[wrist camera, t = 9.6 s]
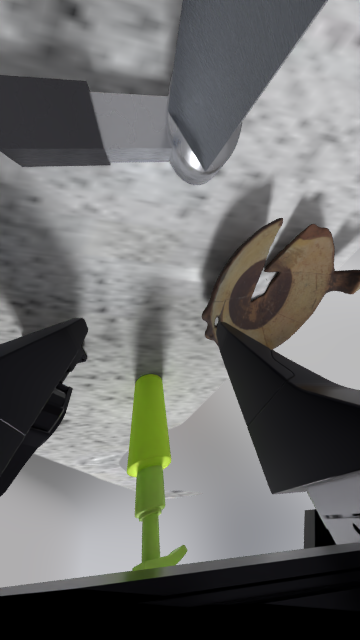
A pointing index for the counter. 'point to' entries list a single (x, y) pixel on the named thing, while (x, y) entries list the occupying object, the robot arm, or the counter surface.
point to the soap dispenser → (150, 467)
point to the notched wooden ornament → (277, 285)
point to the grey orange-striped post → (229, 63)
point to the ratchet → (94, 128)
